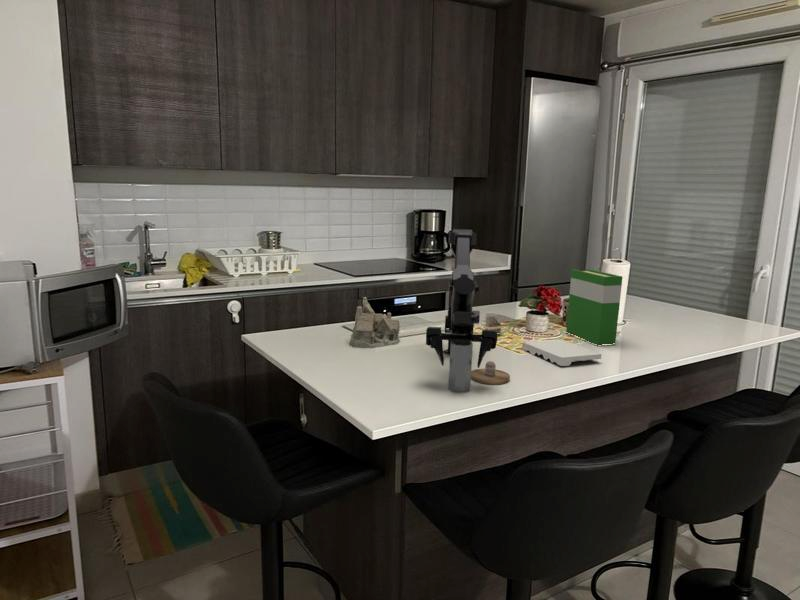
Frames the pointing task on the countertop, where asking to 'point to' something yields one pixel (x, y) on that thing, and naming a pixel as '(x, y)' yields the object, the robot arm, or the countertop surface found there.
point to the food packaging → (560, 351)
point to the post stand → (490, 375)
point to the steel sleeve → (460, 365)
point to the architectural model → (493, 323)
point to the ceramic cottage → (373, 328)
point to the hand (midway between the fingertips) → (460, 366)
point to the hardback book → (594, 306)
